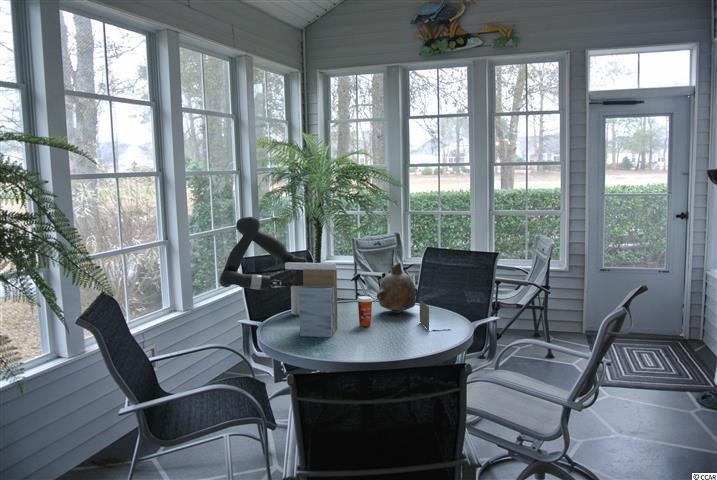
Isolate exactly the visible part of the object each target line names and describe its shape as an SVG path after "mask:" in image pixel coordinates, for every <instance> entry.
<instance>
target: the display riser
mask: <svg viewBox="0 0 717 480" xmlns="http://www.w3.org/2000/svg"><path fill="white" fill-rule="evenodd" d="M299 310H300V315H299V336H301V337H315V338H316V337H317V338H318V337H321V338H332V337H333V336H334V334H335V333H336V332H337V331H338V328H339V327H338V269H337V268H336V269H335V270H303V286H302V287H301V288H299Z"/></svg>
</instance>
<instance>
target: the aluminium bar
mask: <svg viewBox="0 0 717 480" xmlns="http://www.w3.org/2000/svg"><path fill="white" fill-rule="evenodd" d="M284 269H285V270H289V269H301V270H335V269H337V263H336V262H335V263H333V262H308V263H293V262H287V263H285V265H284Z"/></svg>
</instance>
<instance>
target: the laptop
mask: <svg viewBox="0 0 717 480" xmlns="http://www.w3.org/2000/svg"><path fill="white" fill-rule="evenodd" d="M420 322H421V323H422V324H423V325H424V326H425V327H426V328H427V329H428V330H429V322H430V306H428V305H427V304H426V303H424V302H423V301H422V300H421V299H419V323H420ZM421 323H420V324H421ZM422 324H421V325H422ZM423 325H422V326H423ZM424 326H423V327H424ZM425 327H424V328H425ZM426 328H425V329H426ZM427 329H426V330H427ZM428 330H427V331H428Z"/></svg>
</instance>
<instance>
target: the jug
mask: <svg viewBox="0 0 717 480" xmlns="http://www.w3.org/2000/svg"><path fill="white" fill-rule="evenodd" d="M401 265H402V264H401V262H397V263H396V264H395V265H393V266H392V270H389V271H388V274H386V275H385V276H384V277H383V279H382V280H381V282H380V285H379V289H378V292H377V294H376V298H377V301H378V303H379V306H380V307H382V308H384V309H387V310H389V311H392V312H393V313H396V314H400V313H402V312H404V311H407V310H409V309H412V308H414V307H415V306H416V302H417V301H416V299H417V296H418V288H416V286H415V284H414V282H413V280H412V278H411V276H409V275H408V274H407V273H405V272H403V269H402V266H401ZM399 312H400V313H399Z"/></svg>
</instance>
